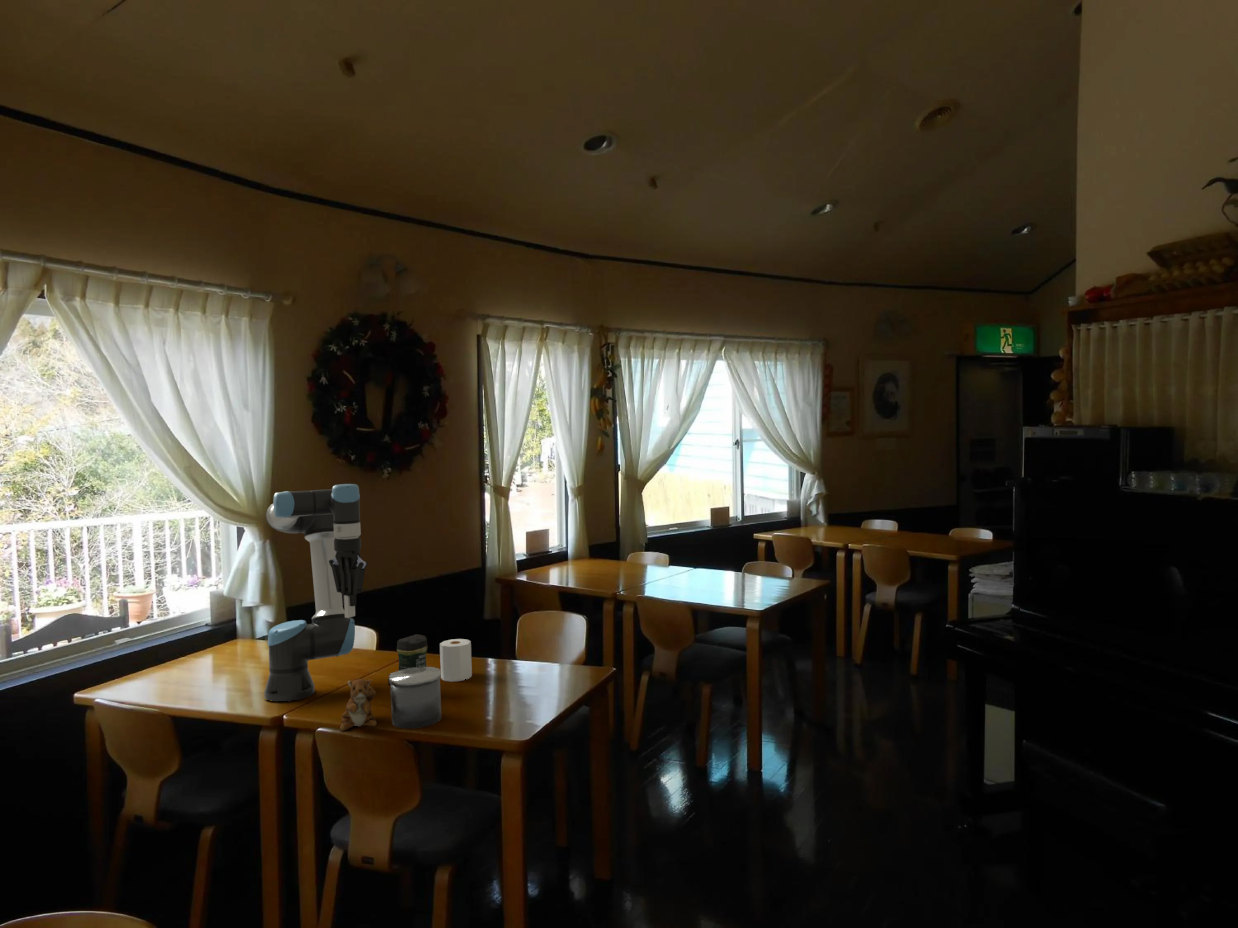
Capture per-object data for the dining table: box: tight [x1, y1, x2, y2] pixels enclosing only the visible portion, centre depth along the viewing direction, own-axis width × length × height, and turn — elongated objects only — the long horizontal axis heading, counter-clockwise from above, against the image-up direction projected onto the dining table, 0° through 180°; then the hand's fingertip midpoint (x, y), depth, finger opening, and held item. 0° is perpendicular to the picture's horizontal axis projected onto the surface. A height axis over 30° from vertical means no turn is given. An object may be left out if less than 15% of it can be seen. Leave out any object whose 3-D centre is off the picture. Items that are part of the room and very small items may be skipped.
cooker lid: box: [388, 666, 441, 686], centre depth 237 cm, size 15×15×1 cm
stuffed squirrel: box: [339, 678, 378, 732], centre depth 237 cm, size 10×14×13 cm
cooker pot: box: [387, 677, 442, 730], centre depth 238 cm, size 15×14×12 cm
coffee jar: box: [396, 634, 428, 671], centre depth 263 cm, size 10×8×19 cm
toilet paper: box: [439, 638, 473, 683], centre depth 279 cm, size 10×10×12 cm
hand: (350, 616), depth 240 cm, fingers closed
